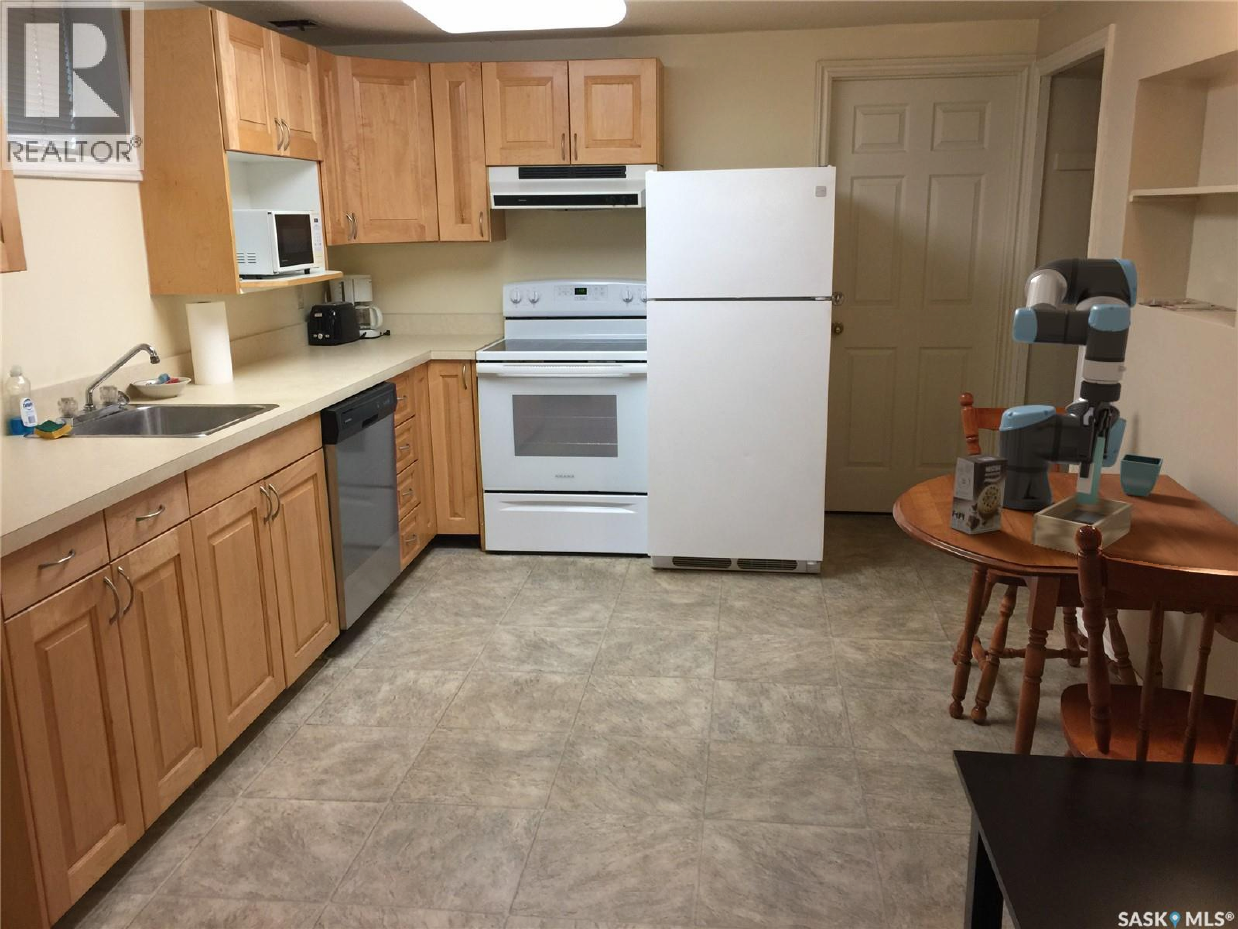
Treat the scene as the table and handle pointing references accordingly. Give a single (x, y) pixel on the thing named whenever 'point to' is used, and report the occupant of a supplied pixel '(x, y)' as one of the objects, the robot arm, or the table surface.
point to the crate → (1080, 522)
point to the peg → (1094, 475)
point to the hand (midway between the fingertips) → (1087, 490)
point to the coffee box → (978, 493)
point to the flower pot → (1139, 474)
